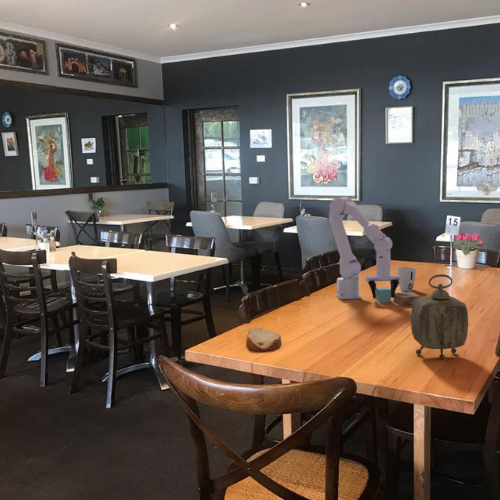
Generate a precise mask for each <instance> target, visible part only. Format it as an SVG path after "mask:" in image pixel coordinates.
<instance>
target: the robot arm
mask: <svg viewBox="0 0 500 500" xmlns="http://www.w3.org/2000/svg"><path fill="white" fill-rule="evenodd" d="M328 207H329V215H328V221H329V224H330V227H331V231H332V234H333V238H334V241H335V245H336V247H337V251H338V254H339V256H340V257H339V263H338V264H339V274H340V275H341V276H340V277H337V278H336V297H337V298H338V299H340V300H356V299H360V300H361V299H362V296H360V294H359V293H360V282H359V281H360V277H359V274H360V273H361V271H362V265H361V263H360V262H359V261H358V260H357V257H356V256H355V255H354V254H353V252H352V249H351V245H350V243H349V238H348V236H347V235H348V234H347V231H346V229H345V227H344V223H343V219H344V218H345V215H349V216H351V217H352V218H353V219H354V220H355V221H356V222H357V223H358V224H359V225H360V226H361V227H362V228H363V234H365V236H366V237H367V238H368V239H369V240H370V241H371V243H372V244H374V245H373V248H374V250H375V252H376V262H375V264H376V268H375V269H376V272H375V273H376V275H370V276H369V275H368V276H365V281H366V282H367V283H368V285H369V288H370V291H371V294H372V299H373V300H376V288H377V283H376V282H388V281H389V283H390V289H391V298H392V299H394V293H396V290H397V288H398V287H399V281H401V276H400V275H398V274H397V275H396V274H395V275H393V274H391V249H392V248H393V241H392V239H391V238H390V237H389V236H387V235H386V234H385V233H383V232H382V230H381V229H380V227H379V225H378V224H375V223H371V222H370V221H369V220H368V219H367V217H366V216H365V215H364V214H363V212H362V211H361V210H360V208H359V207H358V206H357V204H356V202H355V201H353V199H352V198H351V197H349V196H342V197H335V198H333V199H332V200H331V202H330V204H329V205H328Z"/></svg>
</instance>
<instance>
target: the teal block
mask: <svg viewBox="0 0 500 500" xmlns="http://www.w3.org/2000/svg"><path fill="white" fill-rule="evenodd" d="M375 301H376V302H377V303H378V304H379V303H382V304H383V303H391V302H392V299H391V288H390V287H388V286H383V287H379V286H376V299H375Z"/></svg>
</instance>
